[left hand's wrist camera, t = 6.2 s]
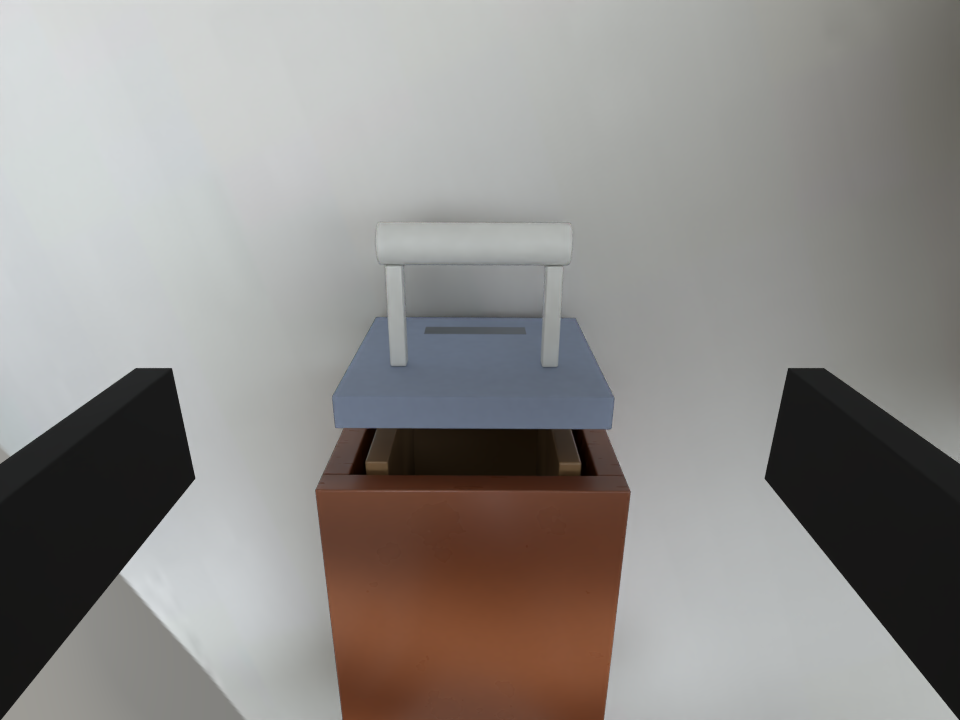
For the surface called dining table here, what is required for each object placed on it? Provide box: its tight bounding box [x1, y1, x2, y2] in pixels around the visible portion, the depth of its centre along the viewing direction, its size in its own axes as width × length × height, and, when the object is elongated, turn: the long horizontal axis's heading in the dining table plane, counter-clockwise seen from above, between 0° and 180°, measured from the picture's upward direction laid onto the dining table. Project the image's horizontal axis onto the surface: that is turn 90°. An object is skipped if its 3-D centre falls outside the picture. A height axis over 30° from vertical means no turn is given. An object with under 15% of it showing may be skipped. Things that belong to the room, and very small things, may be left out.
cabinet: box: [315, 428, 631, 720], centre depth 28 cm, size 21×10×11 cm, turn 0°
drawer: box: [332, 222, 614, 476], centre depth 26 cm, size 25×9×9 cm, turn 0°
